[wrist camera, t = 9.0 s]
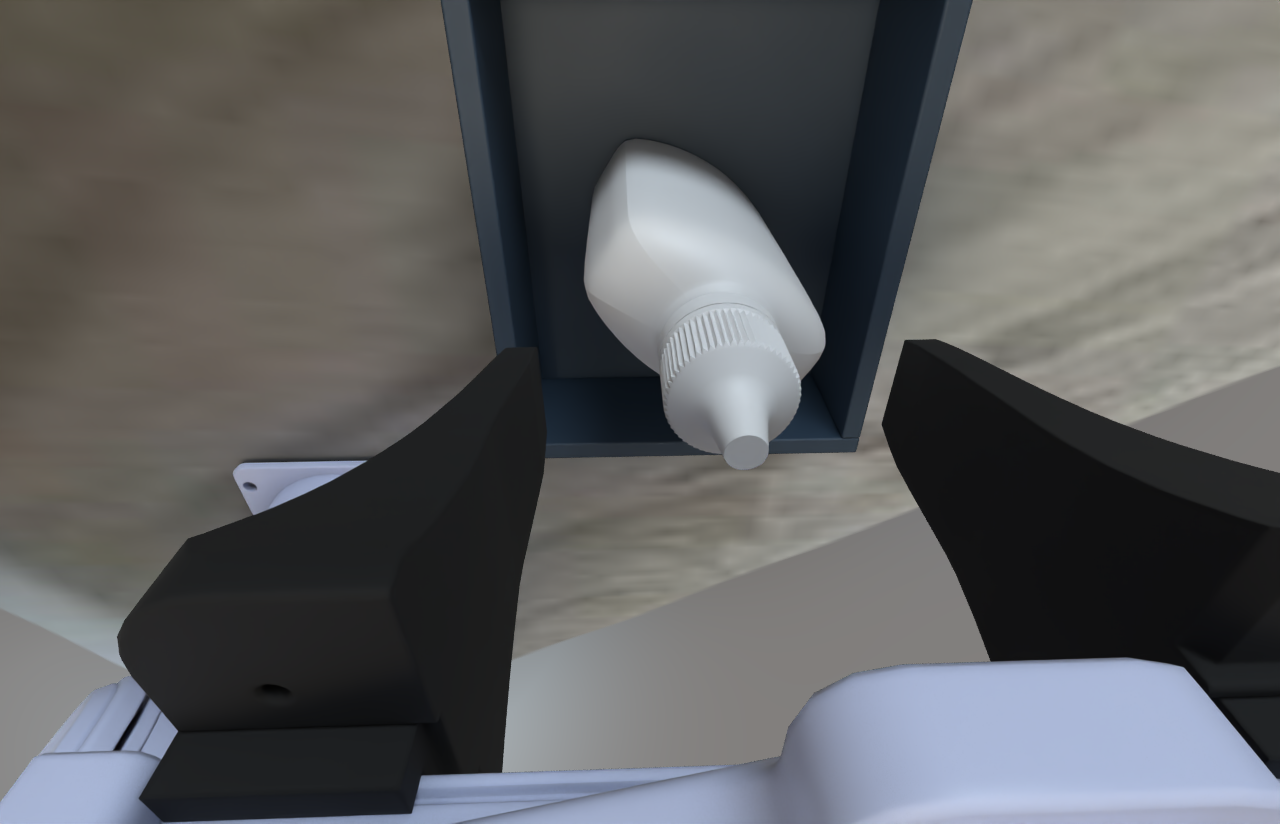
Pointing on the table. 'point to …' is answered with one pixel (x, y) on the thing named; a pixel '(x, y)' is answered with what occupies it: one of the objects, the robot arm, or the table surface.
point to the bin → (725, 138)
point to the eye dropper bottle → (700, 298)
